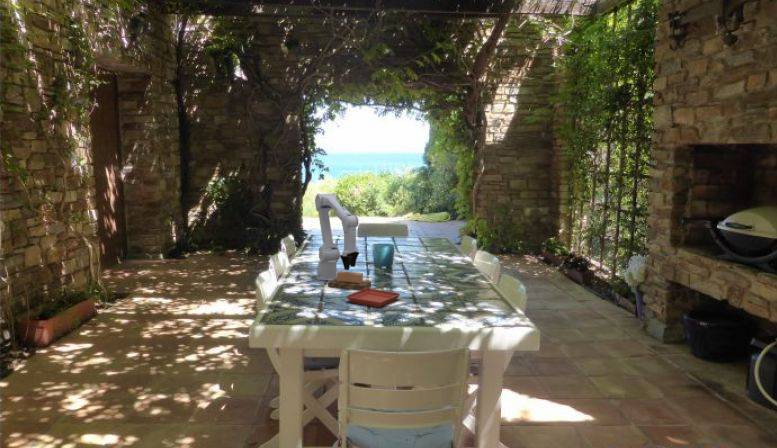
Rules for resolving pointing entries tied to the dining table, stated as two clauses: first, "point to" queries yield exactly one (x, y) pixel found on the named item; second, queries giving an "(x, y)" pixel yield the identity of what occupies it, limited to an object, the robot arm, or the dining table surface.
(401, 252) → the dining table surface
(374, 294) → the plant saucer
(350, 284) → the brown flat slab
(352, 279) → the tan stepped block
